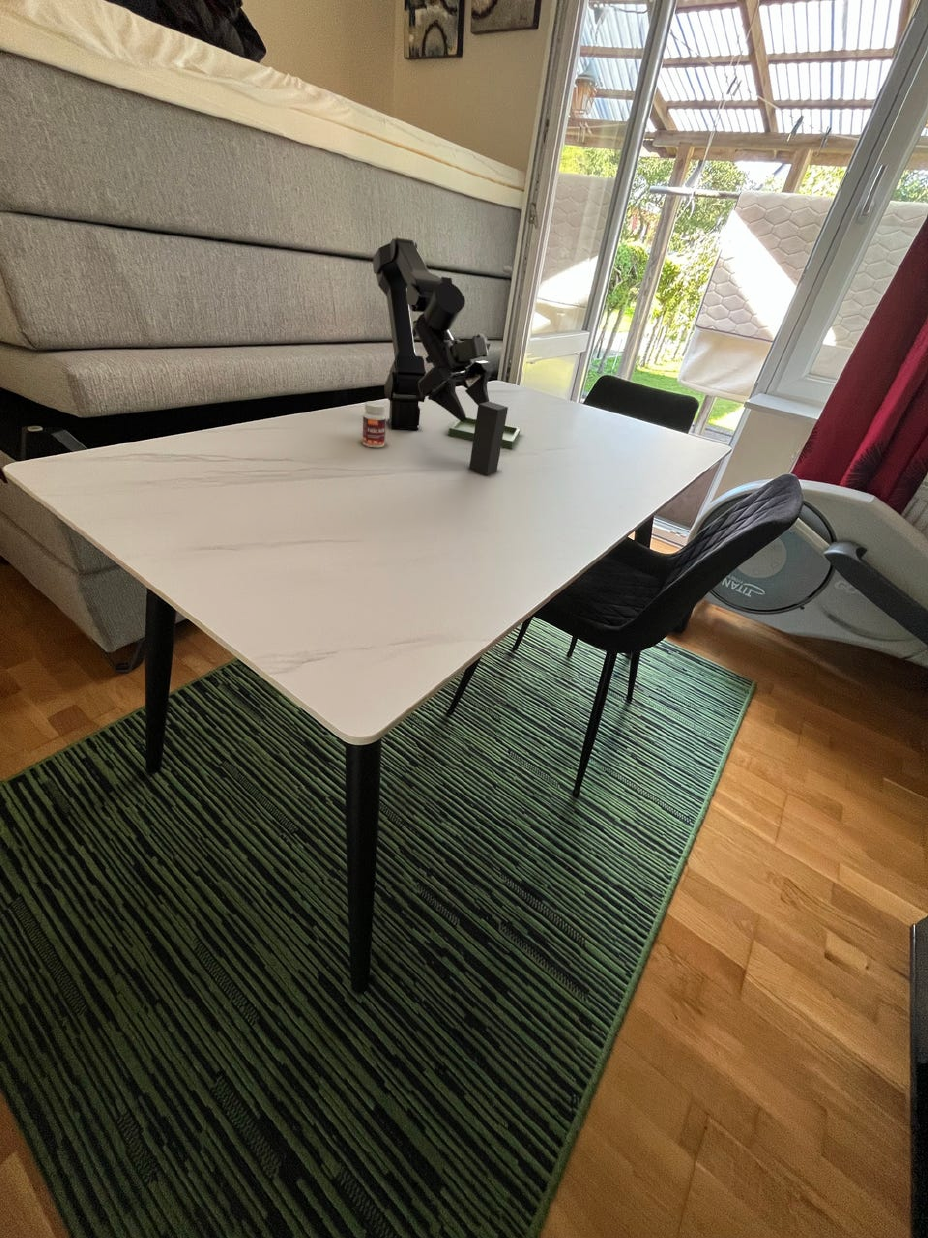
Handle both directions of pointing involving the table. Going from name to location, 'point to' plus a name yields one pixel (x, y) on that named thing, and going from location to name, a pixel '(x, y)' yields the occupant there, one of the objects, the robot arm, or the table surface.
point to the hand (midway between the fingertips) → (477, 416)
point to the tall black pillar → (488, 437)
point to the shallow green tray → (468, 428)
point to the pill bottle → (374, 424)
